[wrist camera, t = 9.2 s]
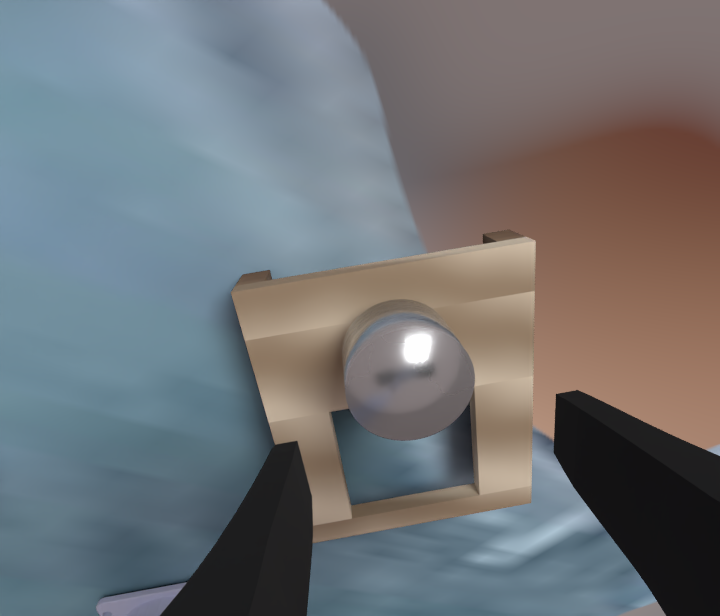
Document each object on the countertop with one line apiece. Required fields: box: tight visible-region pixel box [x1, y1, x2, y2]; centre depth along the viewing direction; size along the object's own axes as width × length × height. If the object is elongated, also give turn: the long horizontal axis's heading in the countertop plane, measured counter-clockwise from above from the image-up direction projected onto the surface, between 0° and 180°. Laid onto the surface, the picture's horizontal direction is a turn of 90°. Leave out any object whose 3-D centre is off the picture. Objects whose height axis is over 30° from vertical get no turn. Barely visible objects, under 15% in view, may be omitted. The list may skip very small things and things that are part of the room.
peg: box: [342, 299, 475, 441], centre depth 16 cm, size 5×5×6 cm
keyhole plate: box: [231, 230, 536, 543], centre depth 19 cm, size 14×12×2 cm
